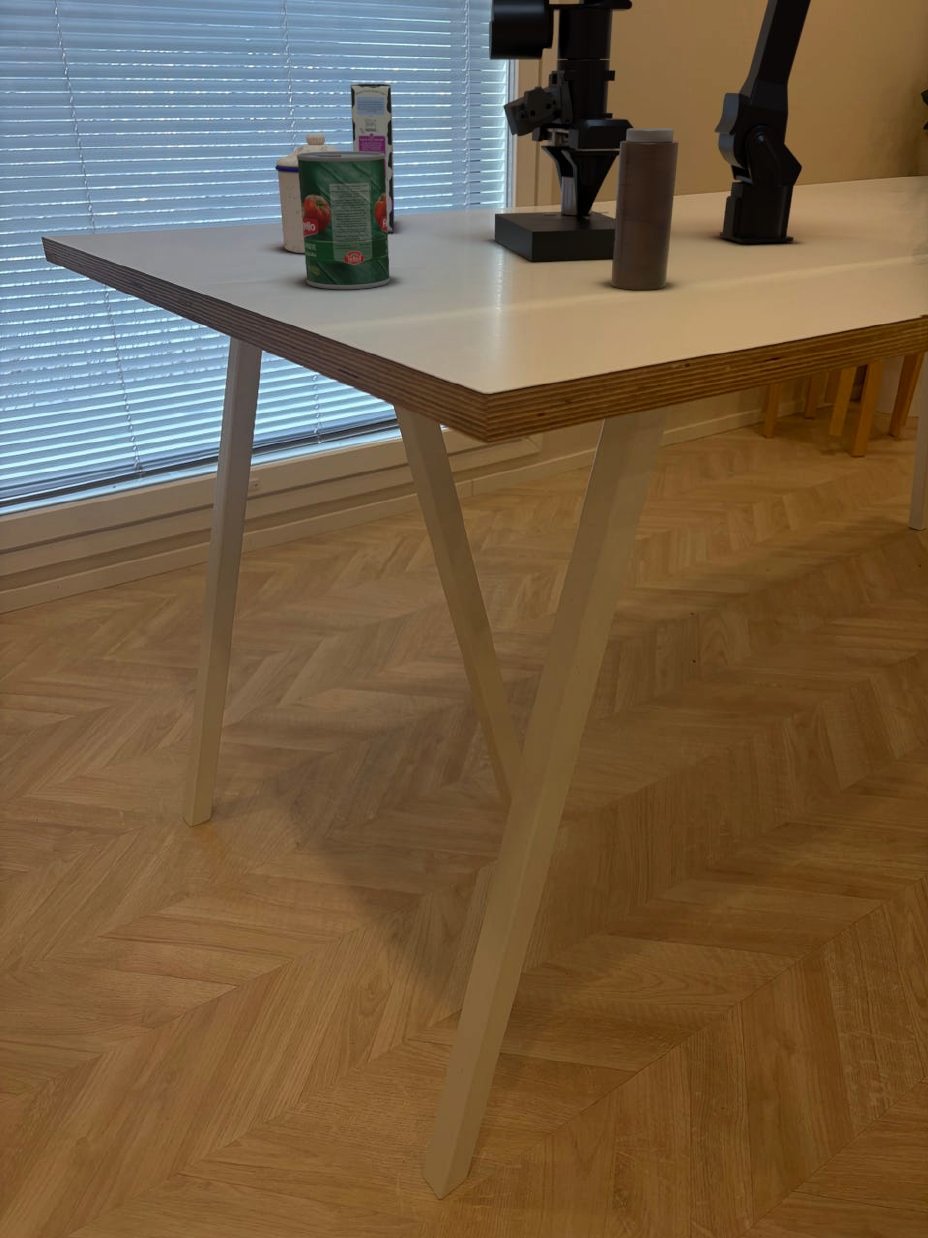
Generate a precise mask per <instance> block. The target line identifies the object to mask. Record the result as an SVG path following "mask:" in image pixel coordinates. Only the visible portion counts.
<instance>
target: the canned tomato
mask: <svg viewBox="0 0 928 1238" xmlns="http://www.w3.org/2000/svg"><path fill="white" fill-rule="evenodd" d="M297 159H298V171H299V183H300V187H299V188H300V198H301V209H302V221H303V225H302V226H303V236H304V247H305V253H304V259H305V262H304V263H305V270H306V284H307V285H309V286H311V287H315V288H319V289H329V290H361V289H362V290H363V289H371V288H378V287H382V286H385V285H387V284H389V283H390V282H391V277H390V255H389V252H390V251H389V232H388V230H387V225H388V223H387V203H386V182H385V179H386V175H385V154H384V153H379V152H363V151H353V150H347V151H346V150H339V151H327V152H308V153H300V154H297Z"/></svg>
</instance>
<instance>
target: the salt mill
mask: <svg viewBox="0 0 928 1238" xmlns="http://www.w3.org/2000/svg"><path fill="white" fill-rule="evenodd" d="M674 132H675V130H674V128H667V127H634V128H630V129H627V136H626V141H621V142H620V149H619V150H620V154H619V156H618V170H617V171H618V173H617V187H616V201H615V202H616V203H615V217H614V219H615V231H614V246H613V259H612V264H611V279H610V285H611V287H613V288H617V289H622V290H630V291H653V290H659V289H663V288H665V287H666V285H667V274H668V263H669V253H670V243H671V230H672V220H673V219H672V218H673V208H674V196H675V185H676V177H677V176H676V175H677V164H678V163H677V162H678V151H679V141H677V140H676V141H675V140H674Z"/></svg>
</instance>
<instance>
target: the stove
mask: <svg viewBox="0 0 928 1238" xmlns="http://www.w3.org/2000/svg"><path fill="white" fill-rule="evenodd" d="M609 213H610V212H609V211H595V210H594V211H593V210H592V214H590V215H587V216H585V215H582V217H579V216H571V215H563V214H561V211H540V212H539V211H538V212H537V211H536V212H535V211H534V212H505V213H504V212H503V213H494V241H495V242H496V243H498V244H500V245H501V246H503V247H504V248H507V249H508V250H510V251H511V252H513V253H515V254H516V255H519V256H520V257H522V258H524V259H525V260H527V261H529V262H531V263H542V262H543V263H544V262H565V261H567V262H568V261H569V262H570V261H590V260H613V246H614V231H615V217H611V216H608V215H607V214H609Z"/></svg>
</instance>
